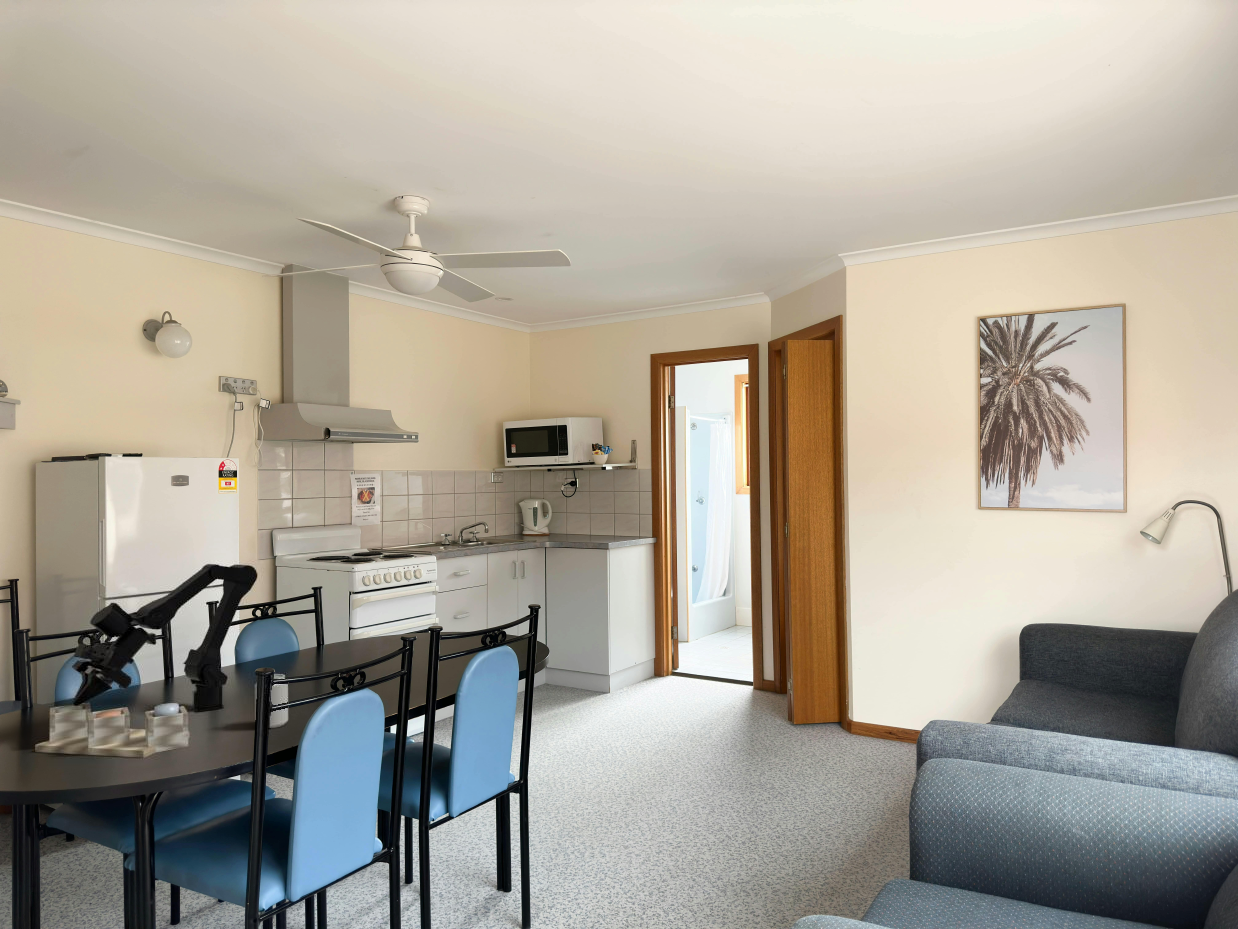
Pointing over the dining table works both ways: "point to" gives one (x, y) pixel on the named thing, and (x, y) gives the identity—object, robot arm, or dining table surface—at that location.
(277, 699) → the can
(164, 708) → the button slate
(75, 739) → the button console
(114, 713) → the button terracotta
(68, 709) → the button sage
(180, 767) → the dining table surface
